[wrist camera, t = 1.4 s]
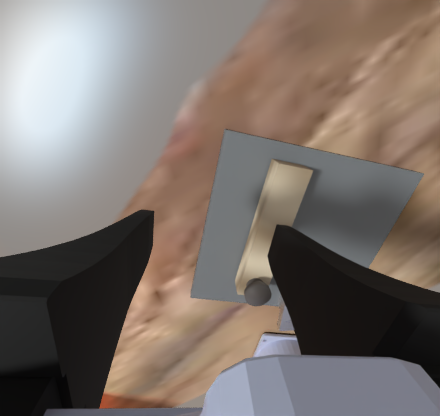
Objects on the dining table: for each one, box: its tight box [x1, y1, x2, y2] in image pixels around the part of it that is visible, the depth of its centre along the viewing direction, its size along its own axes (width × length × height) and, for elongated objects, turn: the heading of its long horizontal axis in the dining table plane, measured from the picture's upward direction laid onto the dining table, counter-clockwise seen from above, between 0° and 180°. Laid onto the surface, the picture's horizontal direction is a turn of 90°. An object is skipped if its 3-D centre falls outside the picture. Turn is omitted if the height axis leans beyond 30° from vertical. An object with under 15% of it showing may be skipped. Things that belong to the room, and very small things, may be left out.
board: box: [191, 129, 424, 306], centre depth 24 cm, size 19×20×1 cm
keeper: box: [277, 294, 294, 331], centre depth 24 cm, size 4×7×4 cm, turn 178°
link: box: [235, 159, 313, 306], centre depth 20 cm, size 14×3×4 cm, turn 168°
